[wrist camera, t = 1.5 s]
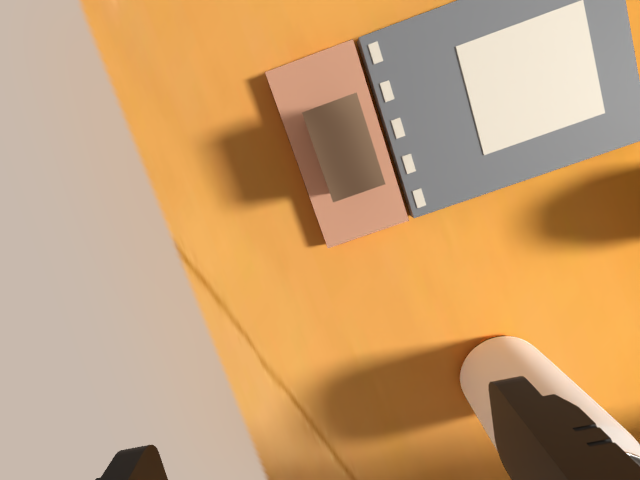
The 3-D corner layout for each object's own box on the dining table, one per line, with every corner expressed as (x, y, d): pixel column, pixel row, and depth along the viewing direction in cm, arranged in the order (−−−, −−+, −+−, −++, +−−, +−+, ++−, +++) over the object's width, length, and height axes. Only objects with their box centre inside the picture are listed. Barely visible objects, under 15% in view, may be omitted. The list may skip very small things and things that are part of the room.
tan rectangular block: (351, 44, 27) (361, 12, 20) (405, 217, 29) (428, 235, 23) (267, 75, 27) (252, 54, 21) (327, 244, 29) (329, 268, 23)
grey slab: (601, -50, 26) (616, -60, 24) (635, 138, 28) (650, 137, 27) (357, 42, 27) (359, 37, 25) (410, 215, 29) (414, 218, 28)
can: (486, 424, 33) (581, 577, 21) (441, 365, 32) (514, 492, 20) (557, 378, 32) (696, 512, 20) (513, 317, 31) (633, 419, 19)
